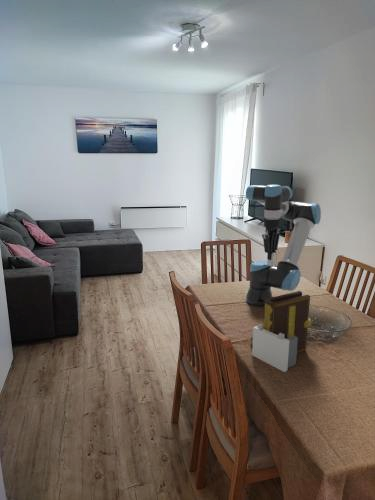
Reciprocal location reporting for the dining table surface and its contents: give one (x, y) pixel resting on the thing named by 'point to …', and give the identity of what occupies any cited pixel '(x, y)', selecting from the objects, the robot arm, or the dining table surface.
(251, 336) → the hinge block
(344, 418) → the dining table surface
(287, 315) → the book
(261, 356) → the carcass
